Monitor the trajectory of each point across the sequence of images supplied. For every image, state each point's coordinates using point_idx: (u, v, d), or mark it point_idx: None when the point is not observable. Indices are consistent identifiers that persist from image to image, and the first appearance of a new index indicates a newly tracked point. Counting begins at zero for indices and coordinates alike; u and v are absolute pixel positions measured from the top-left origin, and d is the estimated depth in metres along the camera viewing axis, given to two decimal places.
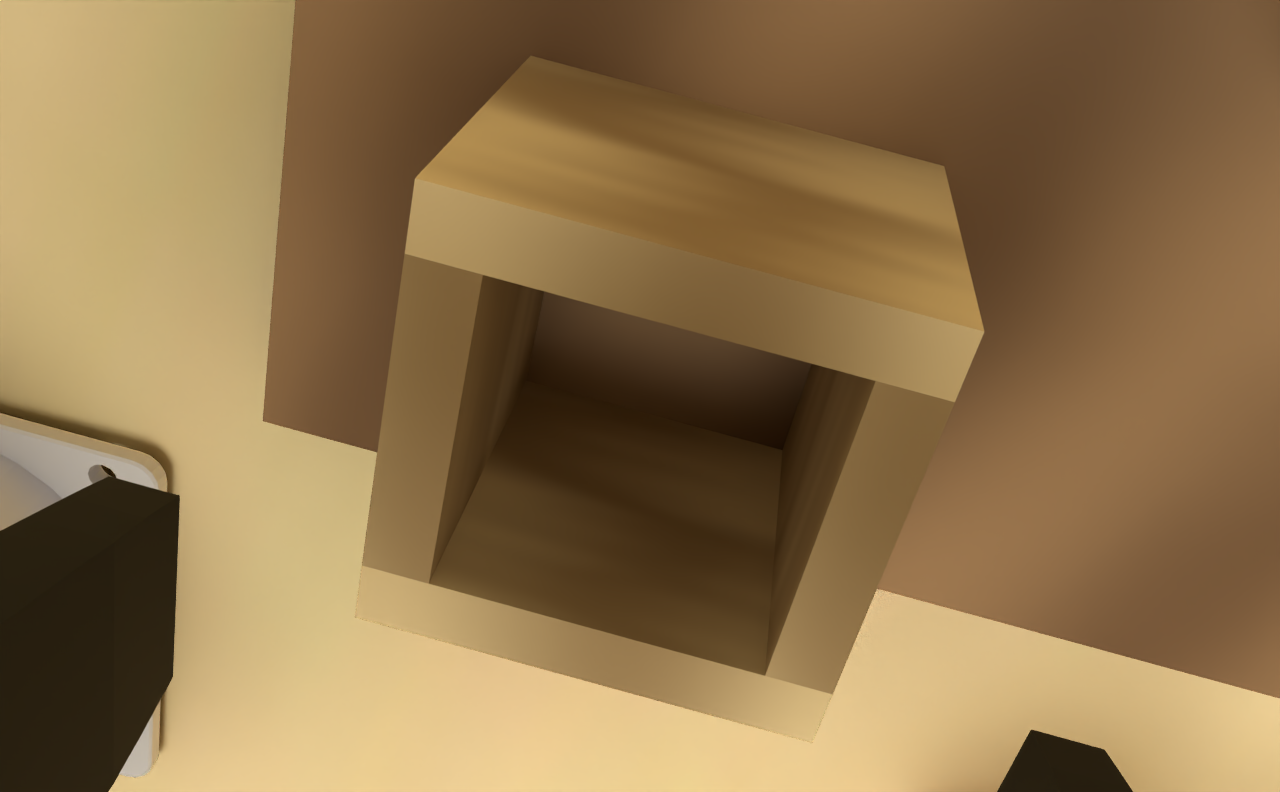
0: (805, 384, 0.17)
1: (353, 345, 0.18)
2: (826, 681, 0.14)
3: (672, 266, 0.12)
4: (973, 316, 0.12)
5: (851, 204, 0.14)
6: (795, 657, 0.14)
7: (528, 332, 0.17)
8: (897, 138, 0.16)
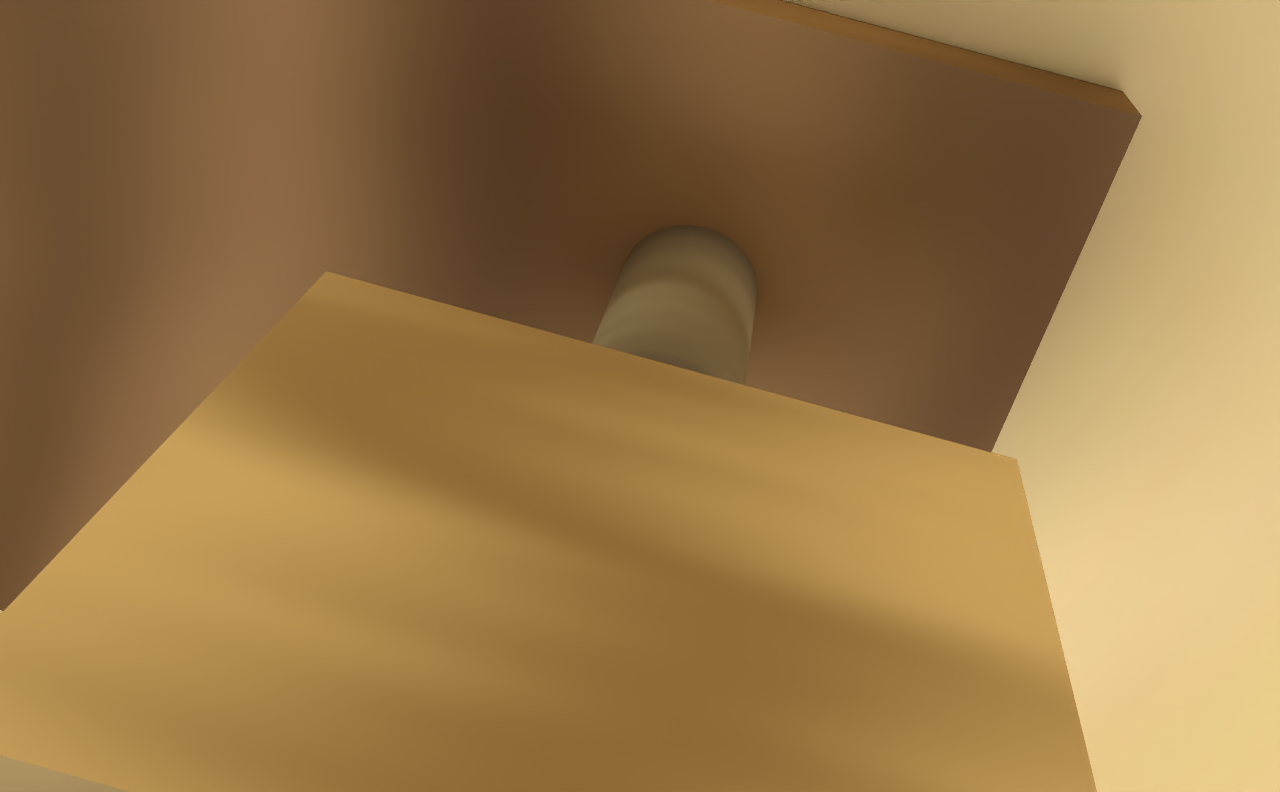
0: None
1: None
2: None
3: None
4: None
5: (863, 611, 0.07)
6: None
7: None
8: None
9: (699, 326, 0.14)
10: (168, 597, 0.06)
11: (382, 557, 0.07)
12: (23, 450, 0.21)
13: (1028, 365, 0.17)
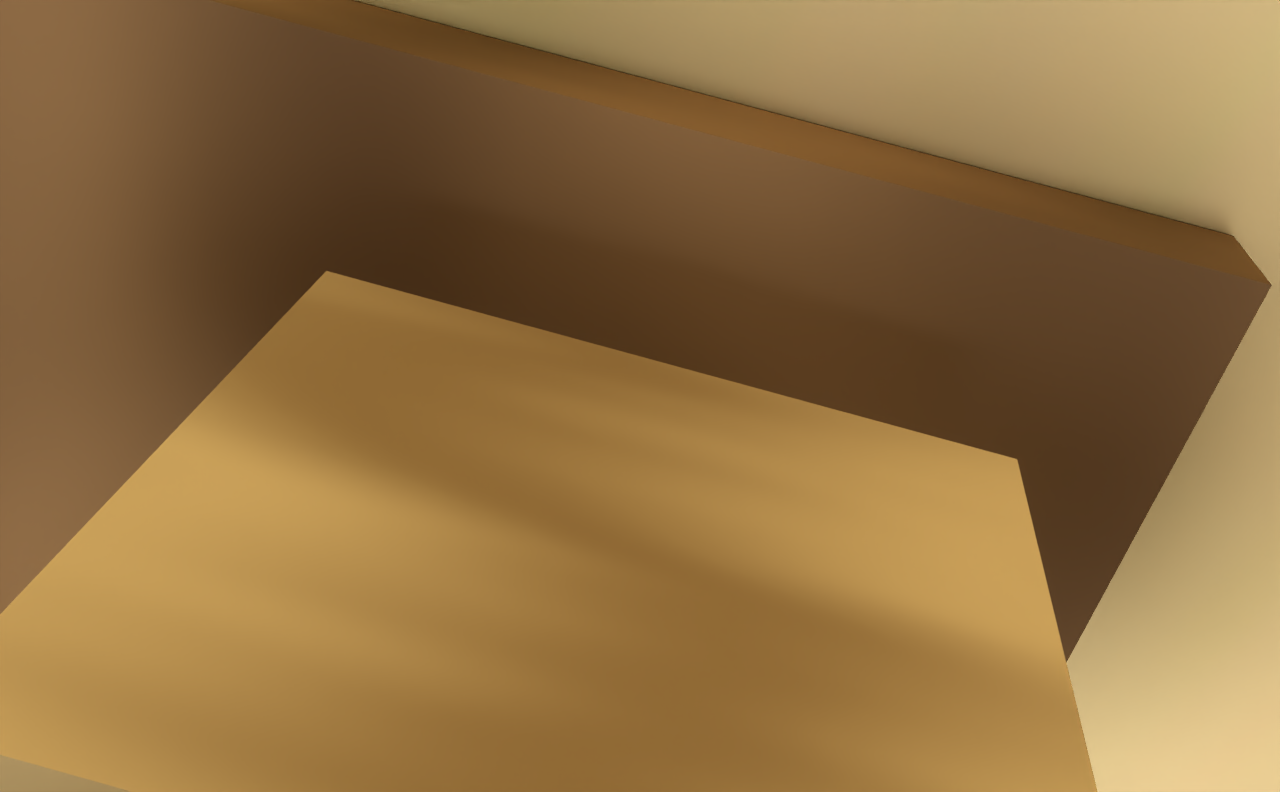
0: None
1: None
2: None
3: None
4: None
5: (864, 611, 0.07)
6: None
7: None
8: None
9: None
10: (168, 597, 0.06)
11: (382, 557, 0.07)
12: None
13: (1097, 601, 0.13)
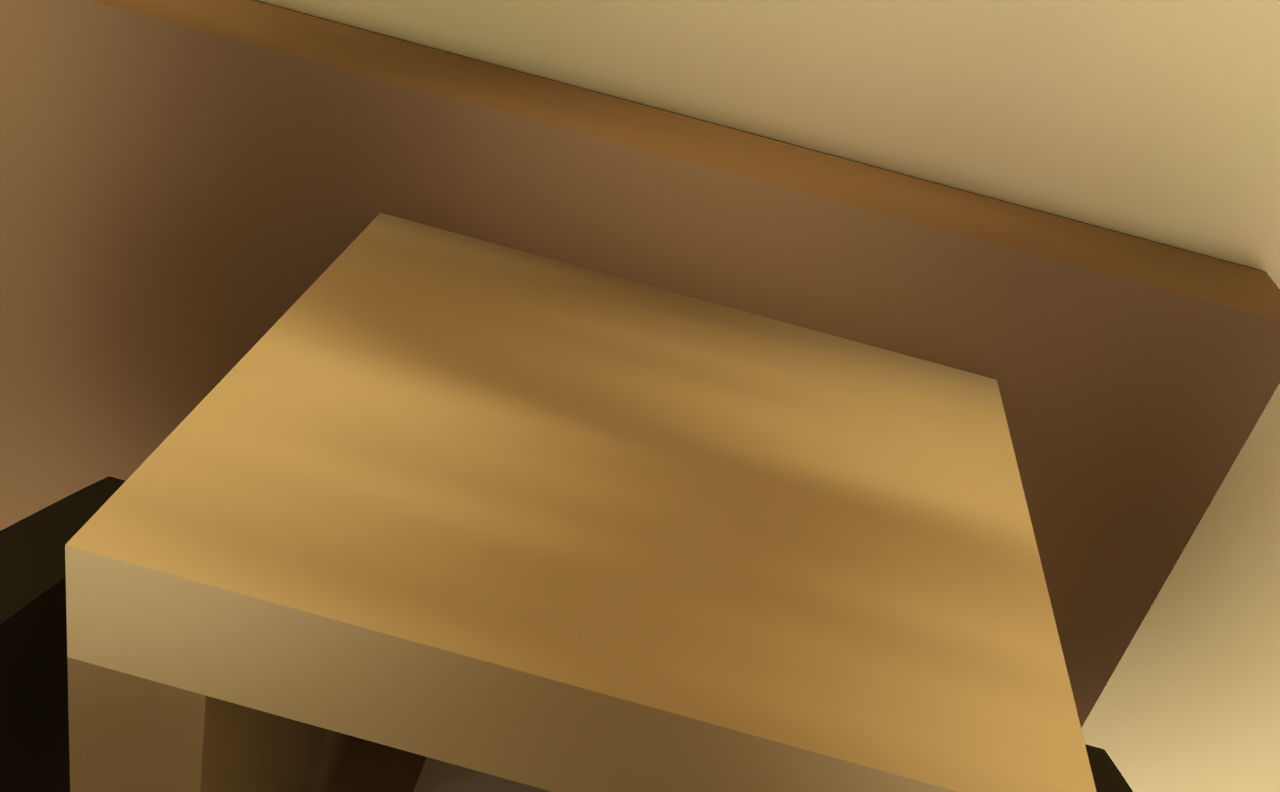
0: None
1: None
2: None
3: (537, 701, 0.06)
4: (1081, 784, 0.06)
5: (859, 492, 0.08)
6: None
7: None
8: None
9: None
10: (272, 460, 0.07)
11: (447, 437, 0.08)
12: None
13: (1117, 660, 0.12)
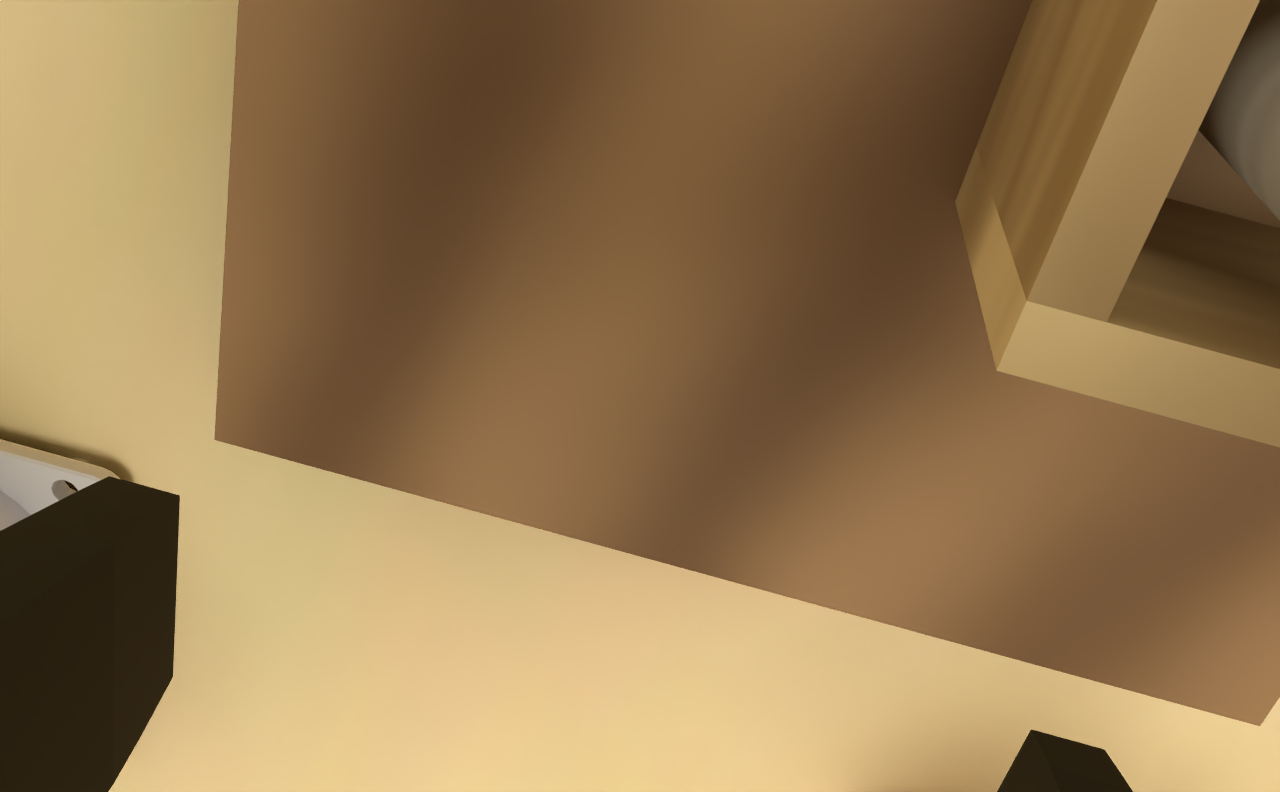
0: None
1: (298, 368, 0.19)
2: None
3: None
4: None
5: None
6: None
7: None
8: (802, 177, 0.17)
9: None
10: None
11: None
12: (400, 278, 0.18)
13: None
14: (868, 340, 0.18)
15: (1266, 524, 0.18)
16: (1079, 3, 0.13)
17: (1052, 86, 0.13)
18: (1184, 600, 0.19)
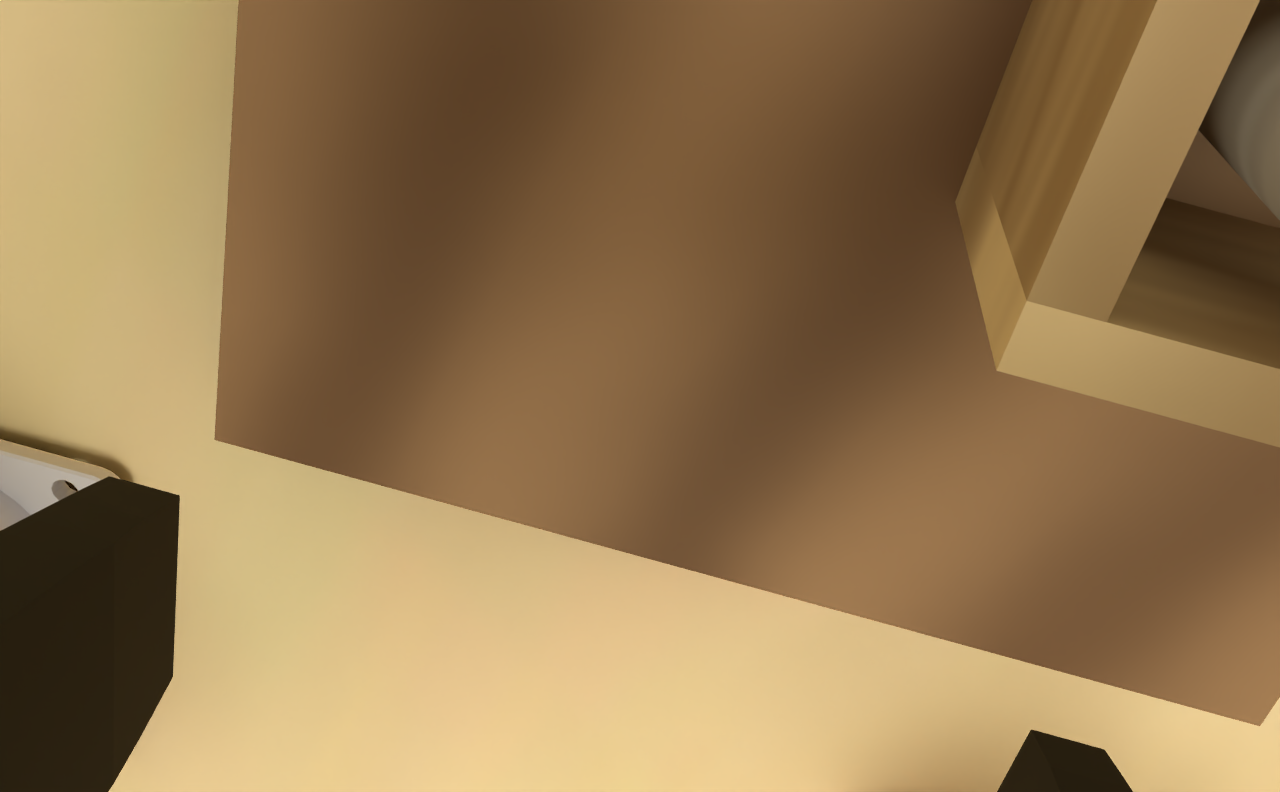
0: None
1: (298, 368, 0.19)
2: None
3: None
4: None
5: None
6: None
7: None
8: (802, 177, 0.17)
9: None
10: None
11: None
12: (400, 278, 0.18)
13: None
14: (868, 340, 0.18)
15: (1266, 524, 0.18)
16: (1079, 3, 0.13)
17: (1052, 86, 0.13)
18: (1184, 600, 0.19)
